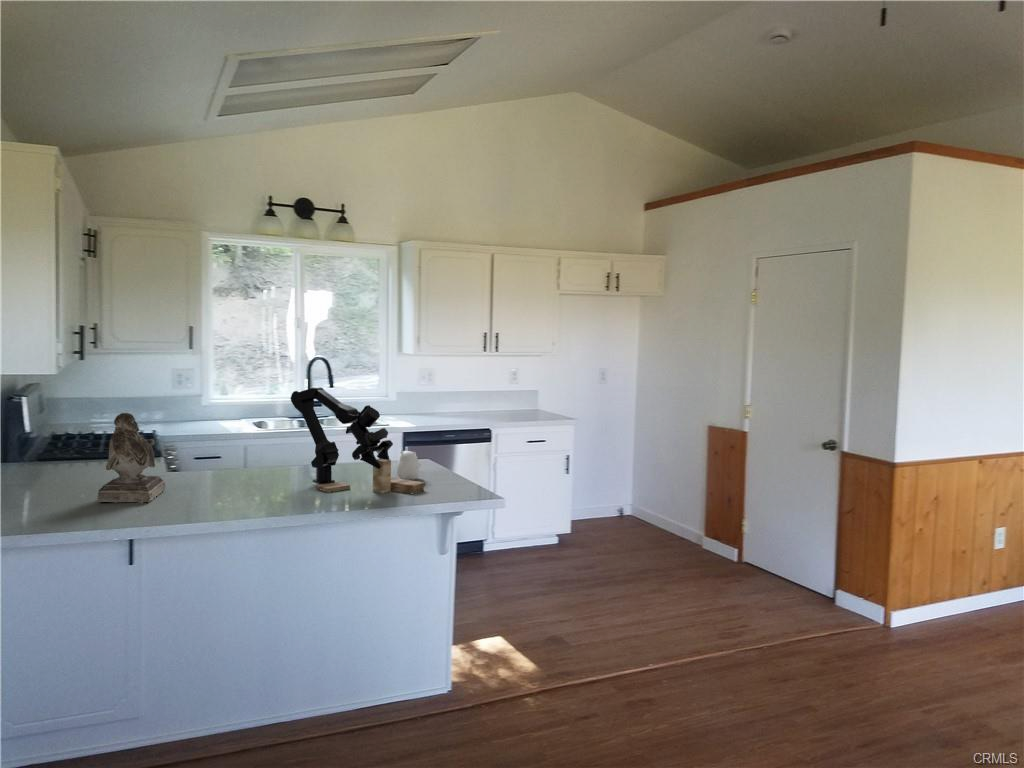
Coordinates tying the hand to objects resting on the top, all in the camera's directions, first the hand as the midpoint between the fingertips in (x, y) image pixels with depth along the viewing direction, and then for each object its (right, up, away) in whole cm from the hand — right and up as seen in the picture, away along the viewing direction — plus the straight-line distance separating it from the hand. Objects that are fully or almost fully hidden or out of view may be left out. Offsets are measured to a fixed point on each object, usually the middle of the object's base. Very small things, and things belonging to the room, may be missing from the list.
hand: (385, 466), depth 282 cm
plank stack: (+5, -9, +5) cm, 12 cm away
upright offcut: (-2, -9, +1) cm, 10 cm away
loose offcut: (-20, -9, +2) cm, 22 cm away
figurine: (+5, -8, +23) cm, 25 cm away
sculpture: (-86, -9, -19) cm, 88 cm away
